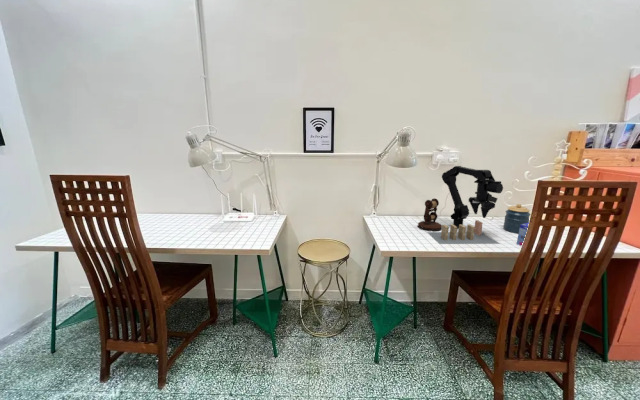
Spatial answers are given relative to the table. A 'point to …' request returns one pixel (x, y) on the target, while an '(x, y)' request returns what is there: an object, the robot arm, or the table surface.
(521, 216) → the canister
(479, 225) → the domino
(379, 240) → the table surface
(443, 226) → the domino
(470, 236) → the domino
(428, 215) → the brown animal figurine
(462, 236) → the domino
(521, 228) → the ink cartridge box
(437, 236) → the mat
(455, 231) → the domino
